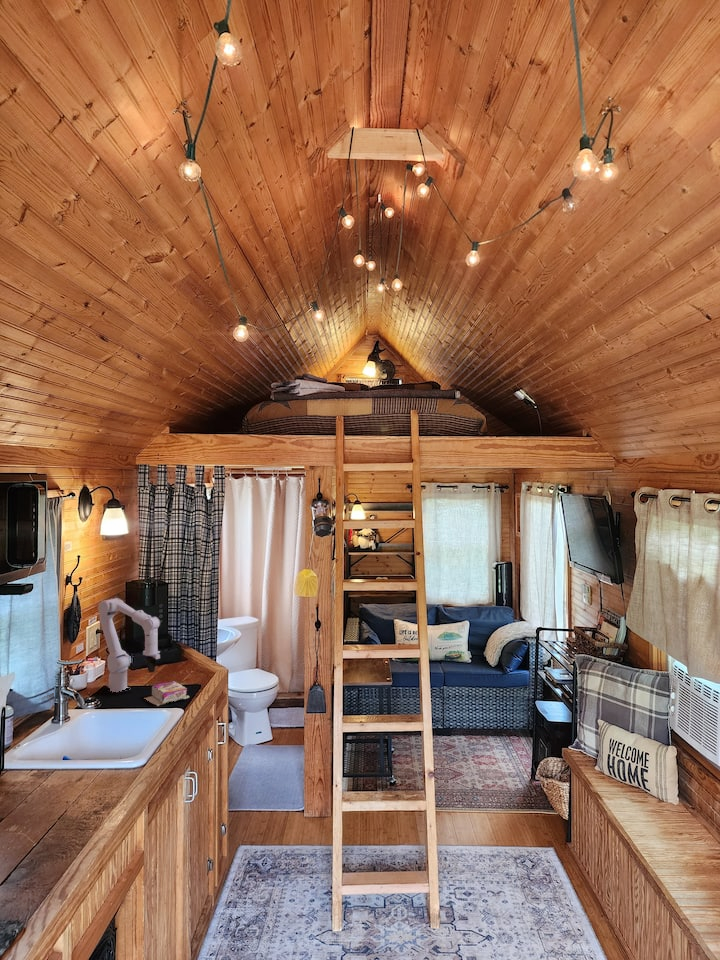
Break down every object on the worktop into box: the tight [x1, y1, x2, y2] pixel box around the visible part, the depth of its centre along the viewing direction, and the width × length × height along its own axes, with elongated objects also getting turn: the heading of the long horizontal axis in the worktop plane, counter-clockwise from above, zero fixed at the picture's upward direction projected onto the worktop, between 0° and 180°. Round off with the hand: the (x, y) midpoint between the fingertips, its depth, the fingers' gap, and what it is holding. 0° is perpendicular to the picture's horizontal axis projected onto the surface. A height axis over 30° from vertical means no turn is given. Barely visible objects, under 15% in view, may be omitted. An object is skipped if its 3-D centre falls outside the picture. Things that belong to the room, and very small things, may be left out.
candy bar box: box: [151, 680, 188, 704], centre depth 262 cm, size 11×5×16 cm
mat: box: [143, 695, 190, 707], centre depth 262 cm, size 14×15×1 cm
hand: (151, 672), depth 273 cm, fingers closed
